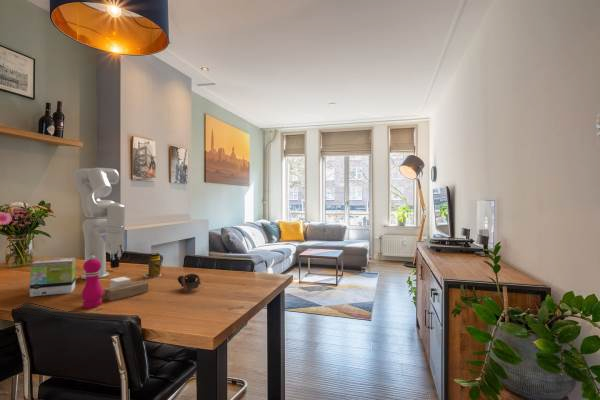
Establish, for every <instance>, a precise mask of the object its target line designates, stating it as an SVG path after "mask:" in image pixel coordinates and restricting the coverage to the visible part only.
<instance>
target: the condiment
mask: <svg viewBox="0 0 600 400" xmlns="http://www.w3.org/2000/svg"><path fill="white" fill-rule="evenodd" d="M148 257H149V259H148V273H146V274H145V273H144V274H143V276H144V278H152V277H153V278H154V277H162V276H163V275H162V274H161V272H162V271H161V270H162V269H161V267H162V266H161V255H160V253H159V252H153V253H149V256H148Z"/></svg>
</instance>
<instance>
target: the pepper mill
mask: <svg viewBox="0 0 600 400" xmlns="http://www.w3.org/2000/svg"><path fill="white" fill-rule="evenodd" d="M100 268H101V262H100V261H99V260H97V259H95V256H93V255H92V256H90V260H88V261H86V262H85V261H84V263H83V270H84V274H85V276H86V279H85V284H84V287H83V289H82V292H81V299H82V301H83V302H82V307H83V308H84V309H92V308H96V307H99V306H101V305H102V303H103V300H102V297H103V296H104V290H103V287H102V285H101V284H100V280H99V279H100V278H98V277H99V274H100V271H99V269H100ZM85 271H86V272H85Z"/></svg>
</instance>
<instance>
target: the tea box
mask: <svg viewBox="0 0 600 400" xmlns="http://www.w3.org/2000/svg"><path fill="white" fill-rule="evenodd" d="M76 265H77V263H76V257H60V258H59V257H58V258H57V257H56V258H42V259H36V260H34V261H33V262H31V263H30V264H29V298H32V297H39V296H50V295H62V294H71V293H72V292H73V291H74V289H75V288H76V268H77V267H76Z"/></svg>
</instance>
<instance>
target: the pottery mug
mask: <svg viewBox="0 0 600 400" xmlns="http://www.w3.org/2000/svg"><path fill="white" fill-rule="evenodd" d="M177 282H178V283H179V284H180V285H181V287H182V288H183V289H182V291H183V292H185V293H186V292H187V291H190V290H192V289H196V288H198V287H199V285H202V283H201V278H200V276H199V275H198V274H196V273H187V274H185V275H179V276H178V277H177Z"/></svg>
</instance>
